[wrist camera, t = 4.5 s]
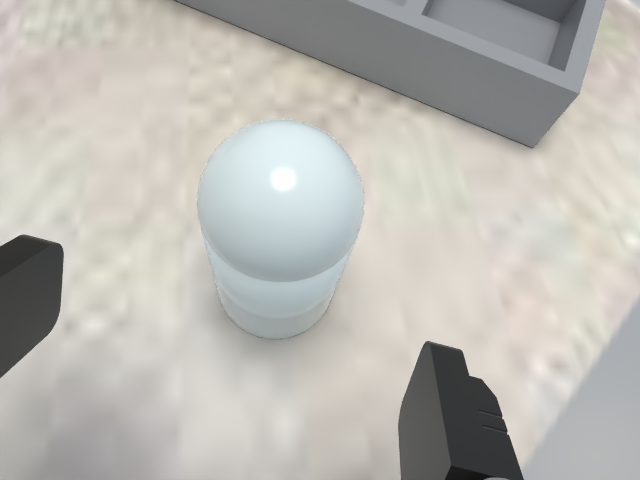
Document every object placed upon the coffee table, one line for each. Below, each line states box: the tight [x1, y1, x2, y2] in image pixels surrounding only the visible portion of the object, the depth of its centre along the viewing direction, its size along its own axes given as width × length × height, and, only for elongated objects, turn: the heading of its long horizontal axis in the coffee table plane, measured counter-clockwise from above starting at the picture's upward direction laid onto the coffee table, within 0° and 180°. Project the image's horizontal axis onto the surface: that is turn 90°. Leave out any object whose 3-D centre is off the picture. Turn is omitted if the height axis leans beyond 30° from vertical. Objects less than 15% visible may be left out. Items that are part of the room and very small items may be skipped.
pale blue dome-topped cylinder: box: [197, 119, 364, 339], centre depth 17 cm, size 5×5×9 cm
